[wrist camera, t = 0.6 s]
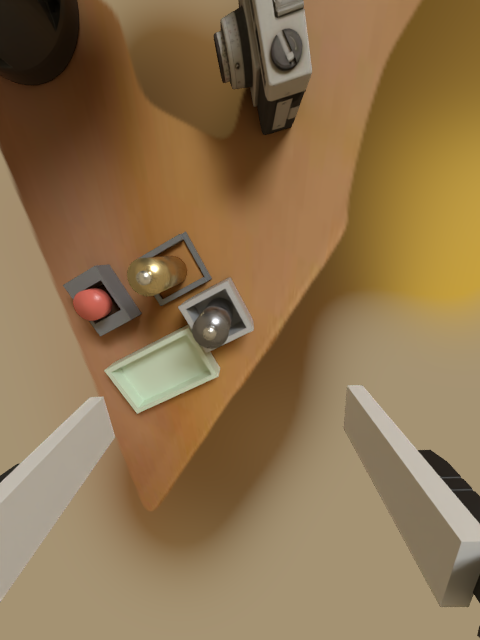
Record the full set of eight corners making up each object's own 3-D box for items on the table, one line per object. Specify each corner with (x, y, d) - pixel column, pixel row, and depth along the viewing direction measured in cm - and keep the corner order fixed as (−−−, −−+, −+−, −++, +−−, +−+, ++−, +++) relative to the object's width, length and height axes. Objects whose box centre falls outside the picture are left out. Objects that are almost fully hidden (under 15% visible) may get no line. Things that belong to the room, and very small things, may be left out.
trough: (113, 362, 41) (104, 370, 38) (192, 322, 38) (188, 327, 36) (143, 403, 43) (137, 413, 40) (220, 368, 41) (218, 376, 38)
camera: (206, 10, 27) (184, -123, 17) (274, -15, 26) (290, -168, 17) (234, 144, 31) (229, 96, 21) (295, 126, 30) (317, 68, 20)
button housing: (76, 283, 37) (59, 287, 34) (109, 264, 36) (94, 265, 33) (110, 330, 39) (97, 338, 36) (141, 313, 38) (131, 319, 35)
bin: (186, 299, 37) (178, 306, 32) (230, 276, 36) (227, 280, 31) (211, 340, 39) (206, 353, 34) (253, 320, 38) (253, 330, 33)
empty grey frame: (134, 262, 36) (130, 262, 35) (186, 231, 34) (184, 231, 33) (161, 305, 38) (159, 307, 37) (211, 278, 36) (210, 279, 35)
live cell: (153, 264, 36) (115, 269, 25) (177, 250, 35) (148, 250, 25) (169, 289, 37) (138, 304, 26) (192, 276, 36) (170, 286, 26)
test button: (77, 296, 34) (66, 299, 32) (100, 282, 33) (91, 284, 31) (95, 321, 35) (86, 325, 33) (118, 308, 34) (110, 312, 32)
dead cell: (201, 305, 37) (183, 326, 26) (225, 292, 36) (216, 309, 26) (214, 328, 38) (202, 357, 27) (238, 316, 37) (234, 341, 27)
